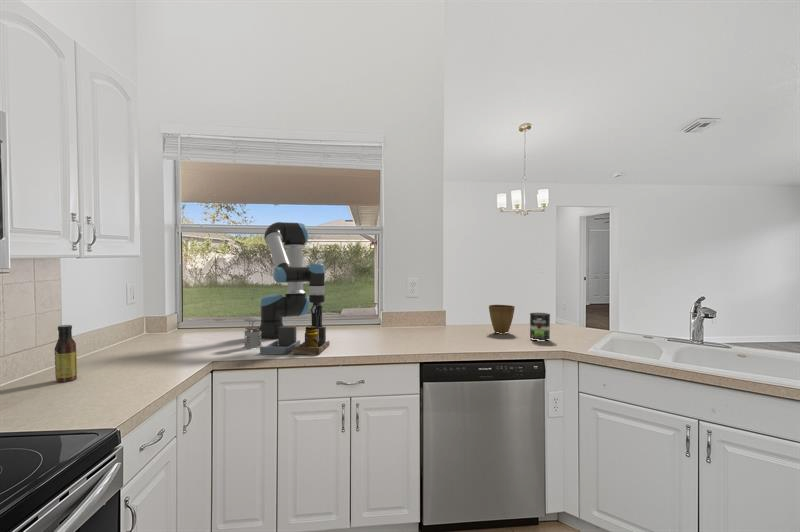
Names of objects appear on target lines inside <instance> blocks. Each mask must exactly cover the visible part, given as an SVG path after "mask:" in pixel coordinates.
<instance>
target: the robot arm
mask: <svg viewBox="0 0 800 532" xmlns="http://www.w3.org/2000/svg"><path fill="white" fill-rule="evenodd" d="M263 236H264V237H263V238H264V242H265V244H266V245H267V246H268V249H269V252H270V254H271V258H272V261H273V263H274V269H273V281H274V282H275V283H287V290H286V292H285V293H284V294H285V295H284V296H283V294H281V293H277V294H270V295H266V296H263V297H261V299H260V319H261V321H260V325H259V327H260V329H258V330H261V335H260V336H261V339H263V338H272V339H279V338H278V337H279V332H278V328H279V327H281V326H284V323H283V318H291V317H303V316H306V315H307V314H308V312H309V309H310V303H312V306H311V309H310V313H311V315H310V316H311V326H316V327H317V332H318V342H319V329H318V327H324V325H323V306H322V304H321V303H324V302H325V300H326V298H325V290H326V289H327V288H326V287H325V272H326V270H325V265H324V263H309V265H308V266H305V267H303V248H305V245H306V243H308V241H309V233H308V229H307V227H306V225H305V224H304V223H301V222H281V221H278V222H277V221H276V222H274V223H272V224H270V225H269V226H268V227H267V228H266V230H265V232H264V235H263ZM305 282H307V283H308V284H309V285H308V294H309V295H307V293H306V291H304V283H305Z"/></svg>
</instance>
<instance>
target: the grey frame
mask: <svg viewBox="0 0 800 532" xmlns="http://www.w3.org/2000/svg"><path fill="white" fill-rule="evenodd" d="M278 332H279V338H278V339H277V340H275V341H273V342H271V343H269V344H267V345H266V346H264V345H262V346H261V347H260V348H259V354H260V355H261V354H262V355H264V354H265V355H287V354H289V353H290V352H291V351H292V348H293V347H297V346H299V345H300V344H301V340H297V326H286V325H283V326H281V327H279V328H278Z"/></svg>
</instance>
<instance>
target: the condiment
mask: <svg viewBox="0 0 800 532" xmlns="http://www.w3.org/2000/svg"><path fill="white" fill-rule="evenodd" d="M304 331H305V332H304V342H305V347H319V346H318V332H317V327H316V326H312V325H310V326H309V325H308V326H306V327H305V330H304Z"/></svg>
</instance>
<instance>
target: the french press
mask: <svg viewBox="0 0 800 532" xmlns="http://www.w3.org/2000/svg"><path fill="white" fill-rule="evenodd" d="M255 299H256V298H255V296H251V297H250V300H252V302H254V300H255ZM244 322H248V326H247V327H245V331H244V345H243V346H242V349H244V348H250V349H249V350H252V349H251V348H256V349H260V347H261V346H263V345H262V338H261V336H260V335H261V330H259V329H260V326H254V324H255V322H261V317H258V316H254V315H251V316H249V317H248V316H247V318H245V319H244ZM250 325H251V326H250Z"/></svg>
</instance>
